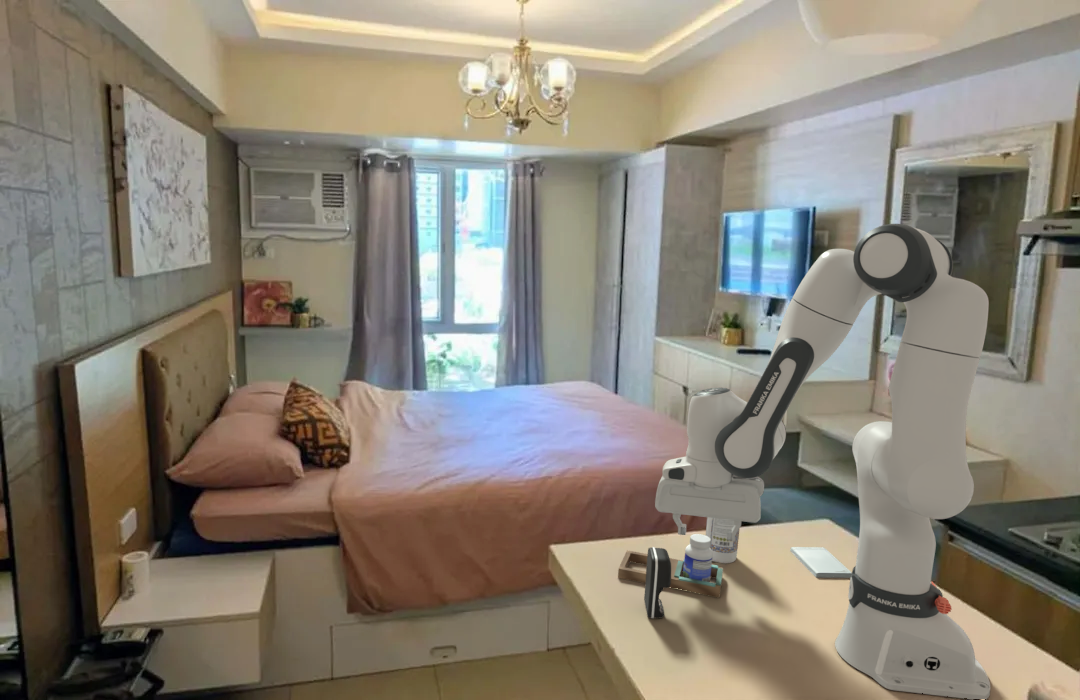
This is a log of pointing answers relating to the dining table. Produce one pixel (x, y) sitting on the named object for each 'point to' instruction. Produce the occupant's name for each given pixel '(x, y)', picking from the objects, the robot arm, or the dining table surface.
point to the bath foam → (722, 540)
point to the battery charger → (656, 580)
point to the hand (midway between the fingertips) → (706, 536)
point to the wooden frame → (676, 573)
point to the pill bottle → (698, 558)
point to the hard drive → (821, 562)
